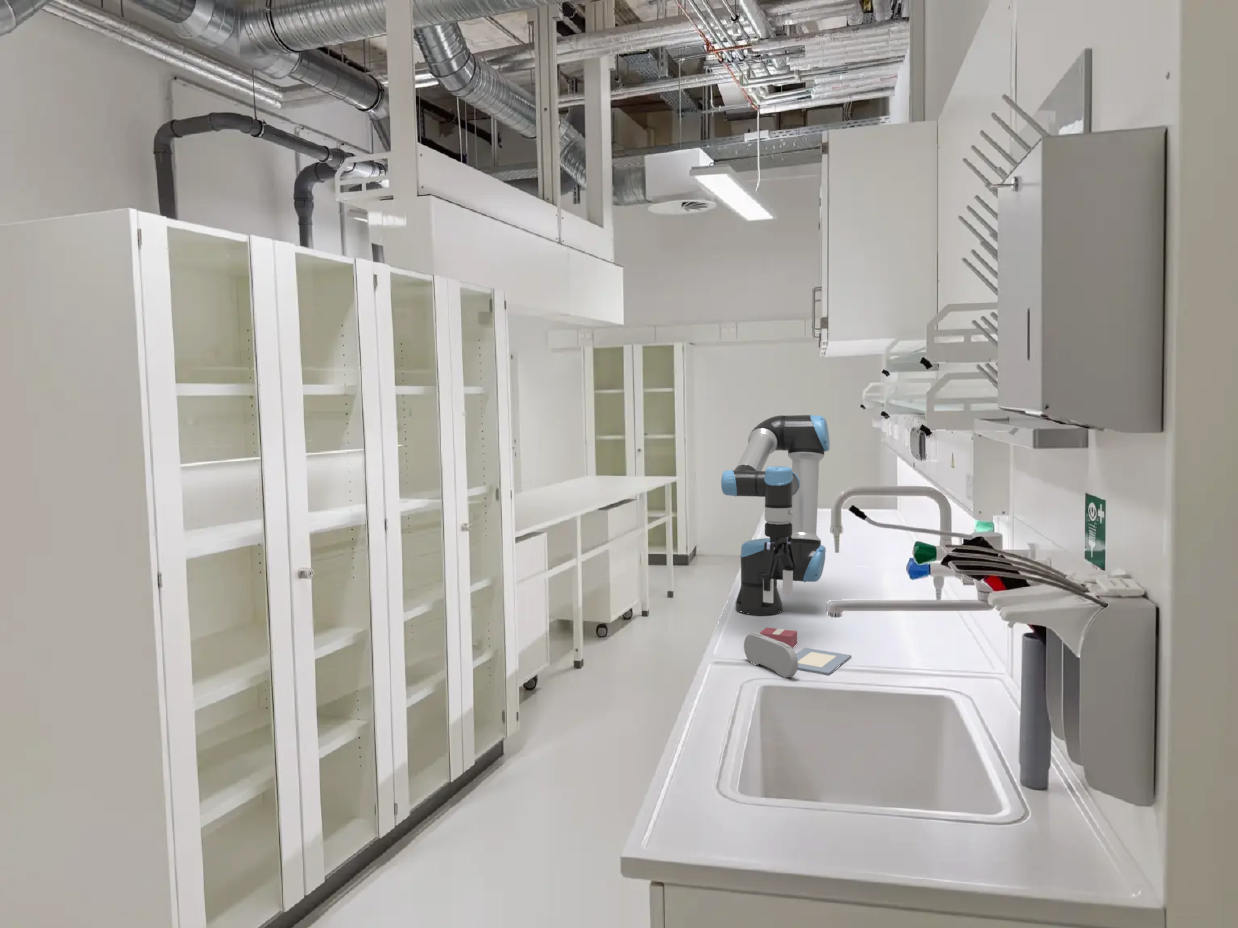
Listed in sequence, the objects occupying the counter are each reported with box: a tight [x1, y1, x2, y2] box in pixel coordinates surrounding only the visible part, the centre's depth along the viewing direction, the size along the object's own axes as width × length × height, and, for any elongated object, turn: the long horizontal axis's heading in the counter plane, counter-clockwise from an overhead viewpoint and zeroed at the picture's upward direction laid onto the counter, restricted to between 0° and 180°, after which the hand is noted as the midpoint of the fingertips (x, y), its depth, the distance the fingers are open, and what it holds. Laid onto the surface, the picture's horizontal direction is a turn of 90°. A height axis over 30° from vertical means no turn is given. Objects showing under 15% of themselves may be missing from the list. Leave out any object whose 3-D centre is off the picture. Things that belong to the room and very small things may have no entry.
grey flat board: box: [795, 647, 852, 676], centre depth 217 cm, size 17×13×1 cm
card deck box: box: [759, 627, 798, 650], centre depth 233 cm, size 6×9×4 cm, turn 62°
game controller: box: [743, 632, 798, 678], centre depth 212 cm, size 20×2×8 cm, turn 28°
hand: (778, 597), depth 232 cm, fingers open, 13 cm apart
